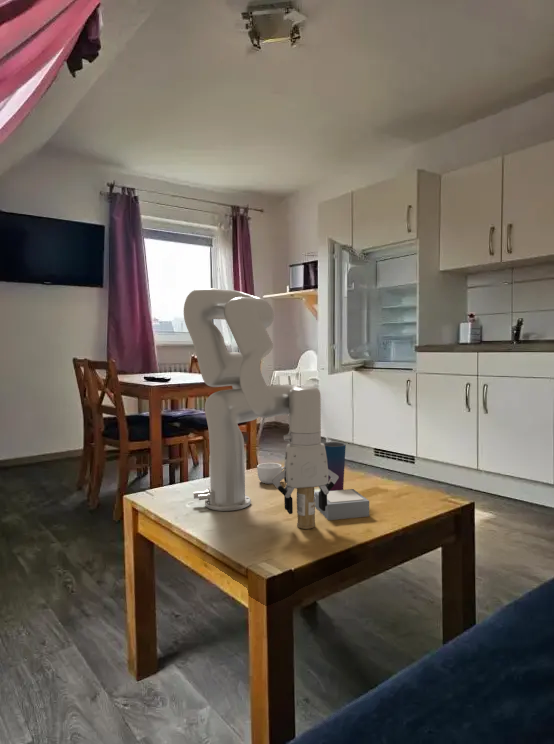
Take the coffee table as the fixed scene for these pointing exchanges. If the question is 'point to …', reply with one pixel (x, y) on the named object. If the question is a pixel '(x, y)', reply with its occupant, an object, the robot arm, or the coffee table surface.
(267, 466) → the teacup
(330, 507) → the base
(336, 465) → the cup
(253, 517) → the coffee table surface
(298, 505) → the sprinkles bottle
